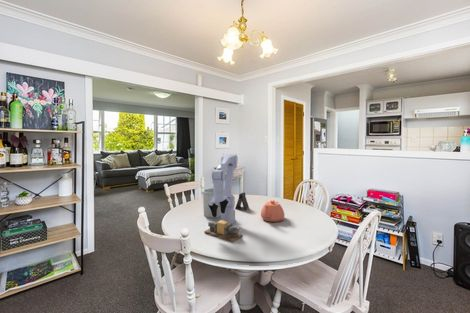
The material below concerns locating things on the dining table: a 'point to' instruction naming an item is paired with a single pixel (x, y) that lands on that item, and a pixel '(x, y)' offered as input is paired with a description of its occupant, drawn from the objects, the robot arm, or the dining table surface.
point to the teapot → (272, 211)
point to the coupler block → (221, 226)
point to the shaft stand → (230, 232)
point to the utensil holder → (207, 197)
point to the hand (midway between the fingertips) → (218, 214)
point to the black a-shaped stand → (242, 200)
